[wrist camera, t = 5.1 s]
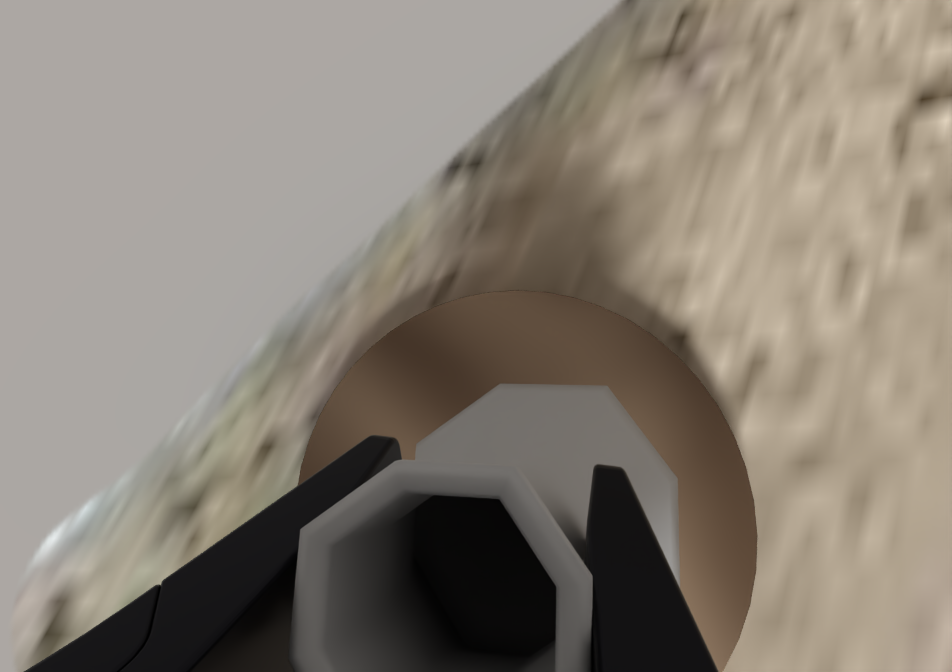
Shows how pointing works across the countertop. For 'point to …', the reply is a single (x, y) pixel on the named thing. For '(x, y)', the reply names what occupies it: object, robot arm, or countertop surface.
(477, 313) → the walnut board
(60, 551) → the countertop surface
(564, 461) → the flask
